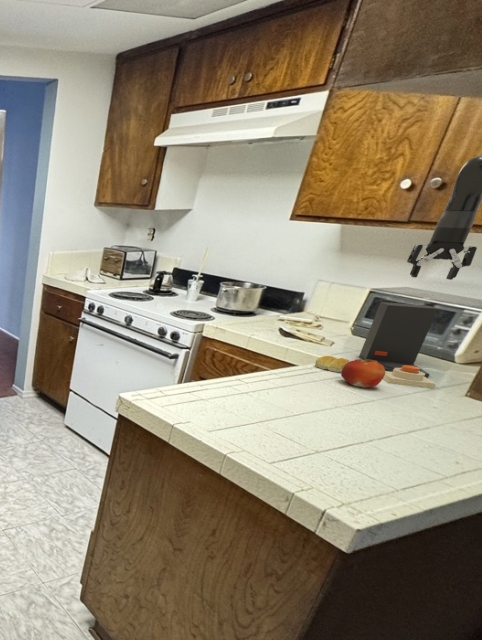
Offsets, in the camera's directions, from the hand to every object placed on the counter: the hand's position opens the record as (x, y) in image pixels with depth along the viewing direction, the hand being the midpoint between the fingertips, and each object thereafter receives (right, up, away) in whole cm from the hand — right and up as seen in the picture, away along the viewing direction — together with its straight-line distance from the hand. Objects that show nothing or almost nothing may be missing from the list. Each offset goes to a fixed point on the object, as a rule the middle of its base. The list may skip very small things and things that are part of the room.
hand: (431, 278), depth 154 cm
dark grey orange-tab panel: (-12, -30, +1) cm, 32 cm away
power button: (-22, -32, -13) cm, 41 cm away
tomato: (-39, -36, -15) cm, 55 cm away
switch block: (-22, -35, -12) cm, 43 cm away
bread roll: (-34, -30, -1) cm, 45 cm away
